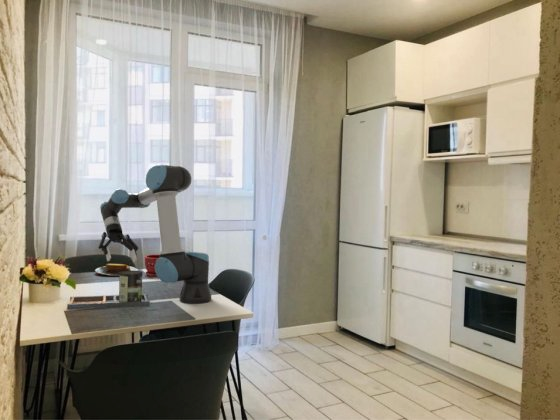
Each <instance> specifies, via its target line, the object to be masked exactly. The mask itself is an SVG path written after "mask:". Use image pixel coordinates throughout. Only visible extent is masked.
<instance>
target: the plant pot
mask: <svg viewBox="0 0 560 420" xmlns="http://www.w3.org/2000/svg"><path fill="white" fill-rule="evenodd" d="M157 259H159V254H147V255H145V256H144V266H145V270H146V271H145V275H146V276H149V277H154V278H155V277H156V278H158V277H157V275H156V272H155V263H156V260H157Z"/></svg>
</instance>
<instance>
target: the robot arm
mask: <svg viewBox="0 0 560 420" xmlns="http://www.w3.org/2000/svg"><path fill="white" fill-rule="evenodd" d="M191 184H192V175H191V173H190V171H189V170H188V169H186V168H185V167H183V166H179V165H177V166H176V165H167V164H155V165H152V166H151V167H149V169H148V171H147V173H146V175H145V186H146V187H147V188H145V189H144V190H142V191H139V192H138V193H128V191H126V190H125V189H122V188H117V189H115V191H114V192H113V193H111V195H110V198H109V199H108V200H107V201H104V202H103V203H101V204H100V207H99V209H100V213H101V217H102V219H103V220H102V221H103V223H104V227H105V231H103V233H102V234H101V239H100V242H99V245H98V249H99V250H101V251H102V252H103V255H104V256H105V258H106V262H110V261H111V259H112V256H111V253H110V252H111V251H110V248H109V247H108V246H109V245H110V244H111V243H112V242H113V243H115V244H116V243H117V244H121V245H123V247H126V248H127V249H128V250H129V251H130V255H131V256H130V257H131V260H132V263H134V264H135V263H136V262H137V260H138V259H137V255H138V254H137V251H138V250H139V246H137V244H136V243H135V242H134V241H133V239H132V238H131V236H130V235H129V234H126V235H125V234H123V228H122V225H121V221H120V218H119V213H120V212H121V210H122V209H132V208H133V209H134V208H135V209H145V208H148V207H149V206H150V205H151V203H154V202H156V204H157V207H156V208H157V214H158V223H159V224H158V226H159V234H160V236H159V237H160V242H161V243H160V244H161V251H160V252H159V253H158V255H159V259H157V260H156V263H155V272H156V275H157V277H156V278H158V279H159V280H160V281H161V282H162V283H165V284H171V283H173V284H174V283H178V282H182V281H183V283H182V284H183V285H182V287H181V291H180V294H179V301H180V302H181V303H186V304H204V303H210V302H211V301H212V293H211V290H210V289H211V288H210V285H209V270H210V268H209V266H210V260H209V254H208V253H205V252H197V251H188V250H187V251H185V250H184V249H183V248H182V246H181V244H182V243H181V237H180V236H181V235H180V225H179V217H178V209H177V208H178V206H177V200H176V196H177V195H178V194H179V193H181V192H184V191H186V190H187V189H188V188H189V187H190V186H191ZM106 238H108V240H107V242H106V243H105V240H106ZM104 243H105V244H104Z"/></svg>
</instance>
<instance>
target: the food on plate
mask: <svg viewBox="0 0 560 420" xmlns="http://www.w3.org/2000/svg"><path fill="white" fill-rule="evenodd" d="M122 271H139V269H138V268H136V267H134V266H129V265H127V264H122V263H106V264H105V266H100V267H97V268H96V269H94V272H95V273H96V274H101V275H105V276H111V277H119V272H122Z"/></svg>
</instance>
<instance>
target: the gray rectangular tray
mask: <svg viewBox="0 0 560 420" xmlns="http://www.w3.org/2000/svg"><path fill="white" fill-rule="evenodd" d="M144 305H149V306H150V300H148V293H142V301H125V302H119V294H110V295H109V294H108V295H107V294H106V295H80V296H70V299H69V303H67V304H66V306H67V307H66V308H67V309H66V310H84V309H106V308H124V307H126V308H128V306H130V307H145V306H144Z"/></svg>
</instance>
